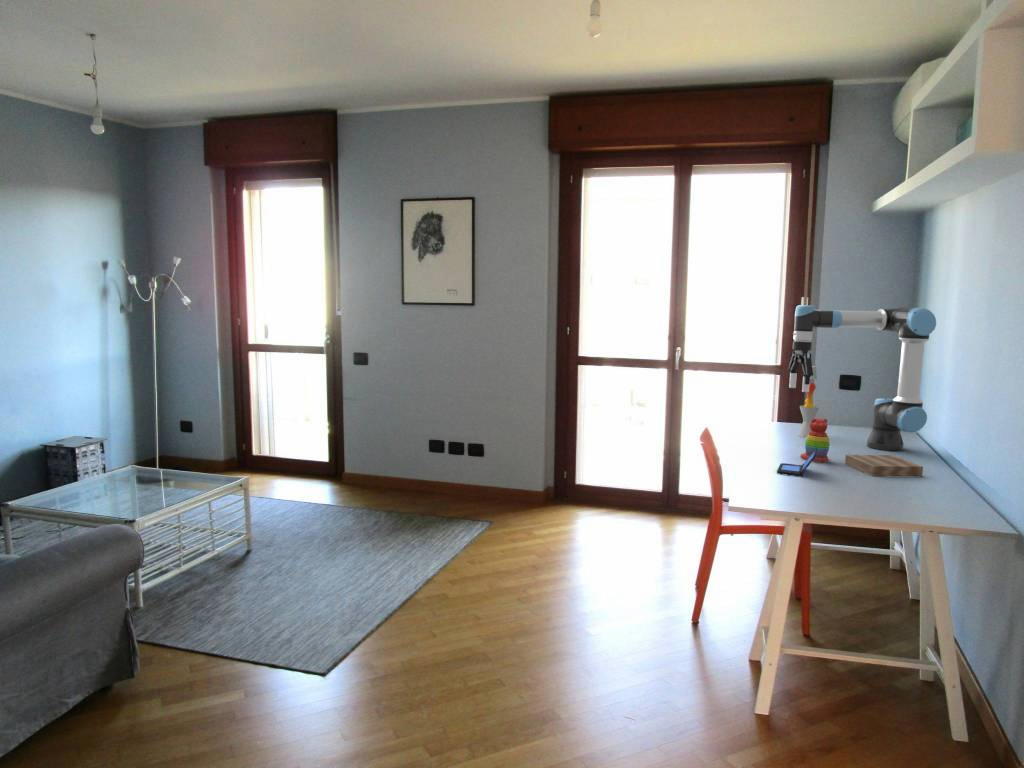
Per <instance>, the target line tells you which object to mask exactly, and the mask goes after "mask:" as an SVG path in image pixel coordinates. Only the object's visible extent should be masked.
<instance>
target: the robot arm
mask: <svg viewBox="0 0 1024 768" xmlns="http://www.w3.org/2000/svg"><path fill="white" fill-rule="evenodd" d="M936 326H937V318H936V316H935V314H934V313H933V311H931V310H930V309H928V308H924V307H919V306H918V307H905V306H904V307H895V308H893V307H892V308H879V309H878V310H841V309H840V310H839V309H837V310H836V309H815V306H814V305H812V304H811V305H809V304H808V305H807V304H806V305H803V304H799V305H797V306H796V307H795V312H794V329H793V330H794V331H793V333H792V335H793V340H794V341H793V342H792V352H791V357H790V361H789V364H788V368H787V371H789V385H788V386H789V387H788V388H790V389H796V388H797V378H798V377H797V376H798V375H797V374H798V368H799V367H800V365H801V367H802V373H803V374H802V388H801V392H802V393H807V392H809V387H810V383H811V379H810V377H811V376H813V369H812V366H813V364H812V363H813V362H812V353H809V352H810V351H812V346H813V344H812V341H813V333H814V330H813V329H814V328H815V329H816V328H819V329H820V328H821V329H822V328H823V329H827V328H828V329H837V328H858V329H859V328H861V329H862V328H863V329H864V328H866V329H868V328H870V329H876V330H878V331H884V332H885V331H887V332H893V333H898V339H899V340H900V341H901V348H900V349H901V350H900V361H899V362H900V363H899V370H898V371H899V372H898V383H897V391H896V396H895V397H894V398H876V399H875V401H874V404H873V415H872V416H873V417H872V428H871V432H870V434H869V436H868V438H867V440H866V447H868V446H869V447H868V448H870V447H872V449H874V448H876V450H880V449H882V450H881V451H889V450H900V451H903V450H904V447H905V446H904V441H903V436H902V432H905V433H906V432H908V433H915V432H918V431H920V430H921V429H924V427H925V425H926V423H927V420H928V415H927V412H926V411H925V410H924V408H923V405H924V404H923V400H921V398H920V393H921V382H922V375H923V374H922V371H923V362H924V352H925V344H926V342H927V341H929V340H930V335H931V334H932V333H933V332H934V331H935V329H936ZM808 351H809V352H808Z"/></svg>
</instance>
